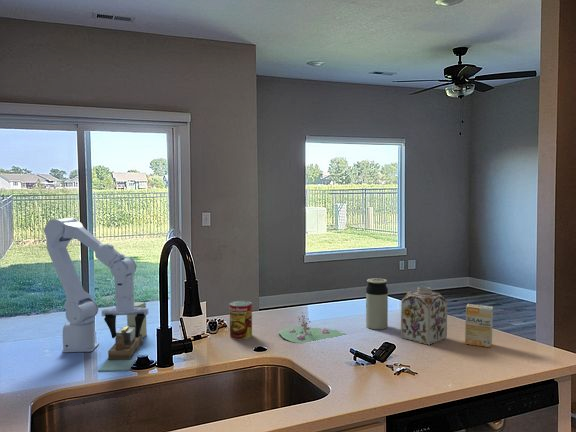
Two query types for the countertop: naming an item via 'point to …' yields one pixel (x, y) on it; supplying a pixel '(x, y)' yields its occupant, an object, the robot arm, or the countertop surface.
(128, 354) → the hand plane
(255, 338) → the countertop surface
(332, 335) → the plant
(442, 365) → the countertop surface
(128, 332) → the lever cap
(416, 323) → the decorative jar
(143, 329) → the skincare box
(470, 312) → the supplement box
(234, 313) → the canned food
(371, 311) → the travel mug
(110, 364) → the mat
